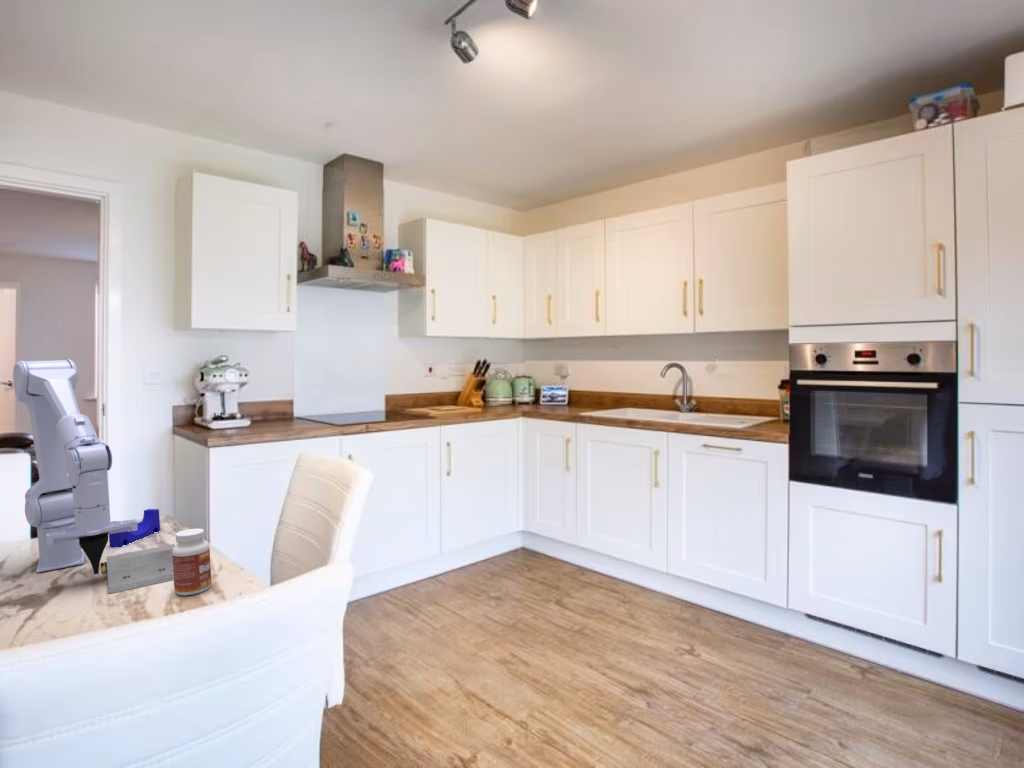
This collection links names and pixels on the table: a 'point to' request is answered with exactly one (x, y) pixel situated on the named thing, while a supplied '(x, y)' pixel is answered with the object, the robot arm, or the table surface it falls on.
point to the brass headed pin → (103, 568)
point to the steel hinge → (140, 568)
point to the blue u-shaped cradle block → (144, 529)
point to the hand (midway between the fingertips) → (96, 572)
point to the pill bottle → (191, 562)
